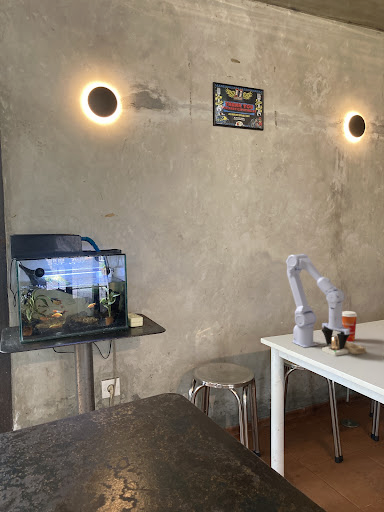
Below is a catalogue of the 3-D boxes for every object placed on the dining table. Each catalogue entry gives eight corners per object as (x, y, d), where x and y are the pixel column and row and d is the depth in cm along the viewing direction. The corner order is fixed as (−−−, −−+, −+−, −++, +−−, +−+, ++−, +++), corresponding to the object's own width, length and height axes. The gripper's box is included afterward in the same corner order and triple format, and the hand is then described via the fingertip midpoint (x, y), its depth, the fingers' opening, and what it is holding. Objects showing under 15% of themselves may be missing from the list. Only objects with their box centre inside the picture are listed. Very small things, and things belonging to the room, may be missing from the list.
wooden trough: (335, 347, 180) (335, 342, 180) (345, 345, 183) (345, 341, 183) (355, 355, 169) (355, 350, 169) (365, 352, 172) (365, 348, 172)
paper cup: (337, 340, 192) (338, 312, 191) (344, 336, 197) (344, 310, 196) (353, 343, 186) (353, 315, 185) (359, 339, 192) (360, 312, 191)
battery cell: (329, 351, 174) (329, 335, 174) (334, 350, 176) (335, 334, 175) (334, 353, 172) (335, 337, 171) (340, 352, 173) (340, 336, 172)
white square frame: (321, 350, 176) (321, 346, 176) (335, 348, 179) (335, 344, 179) (334, 356, 168) (334, 351, 168) (348, 353, 172) (348, 349, 172)
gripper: (354, 319, 168) (354, 349, 168) (330, 312, 181) (330, 341, 182) (342, 321, 165) (342, 351, 166) (318, 314, 178) (318, 343, 179)
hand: (335, 346), depth 173 cm, fingers open, 7 cm apart
